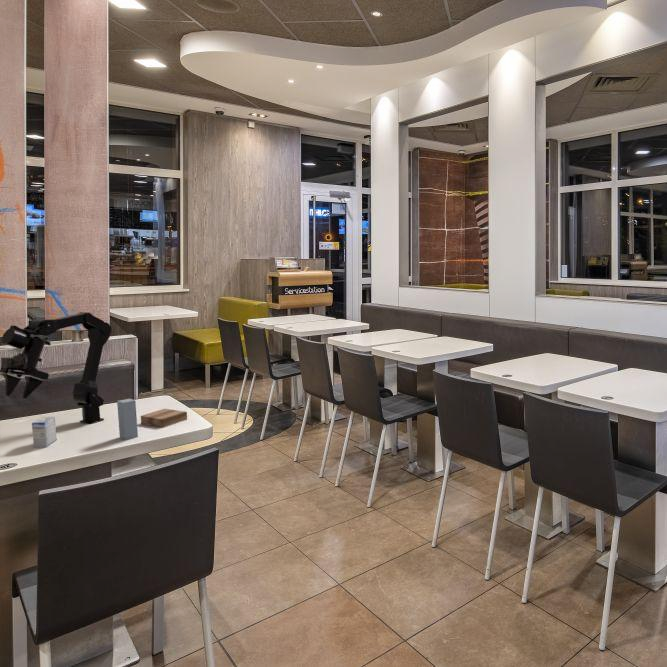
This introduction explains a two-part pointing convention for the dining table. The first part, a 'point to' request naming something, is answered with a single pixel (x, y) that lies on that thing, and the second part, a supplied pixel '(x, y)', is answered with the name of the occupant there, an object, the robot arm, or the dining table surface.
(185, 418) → the walnut plinth
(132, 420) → the pillar block
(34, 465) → the dining table surface
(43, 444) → the medicine box
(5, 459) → the dining table surface
